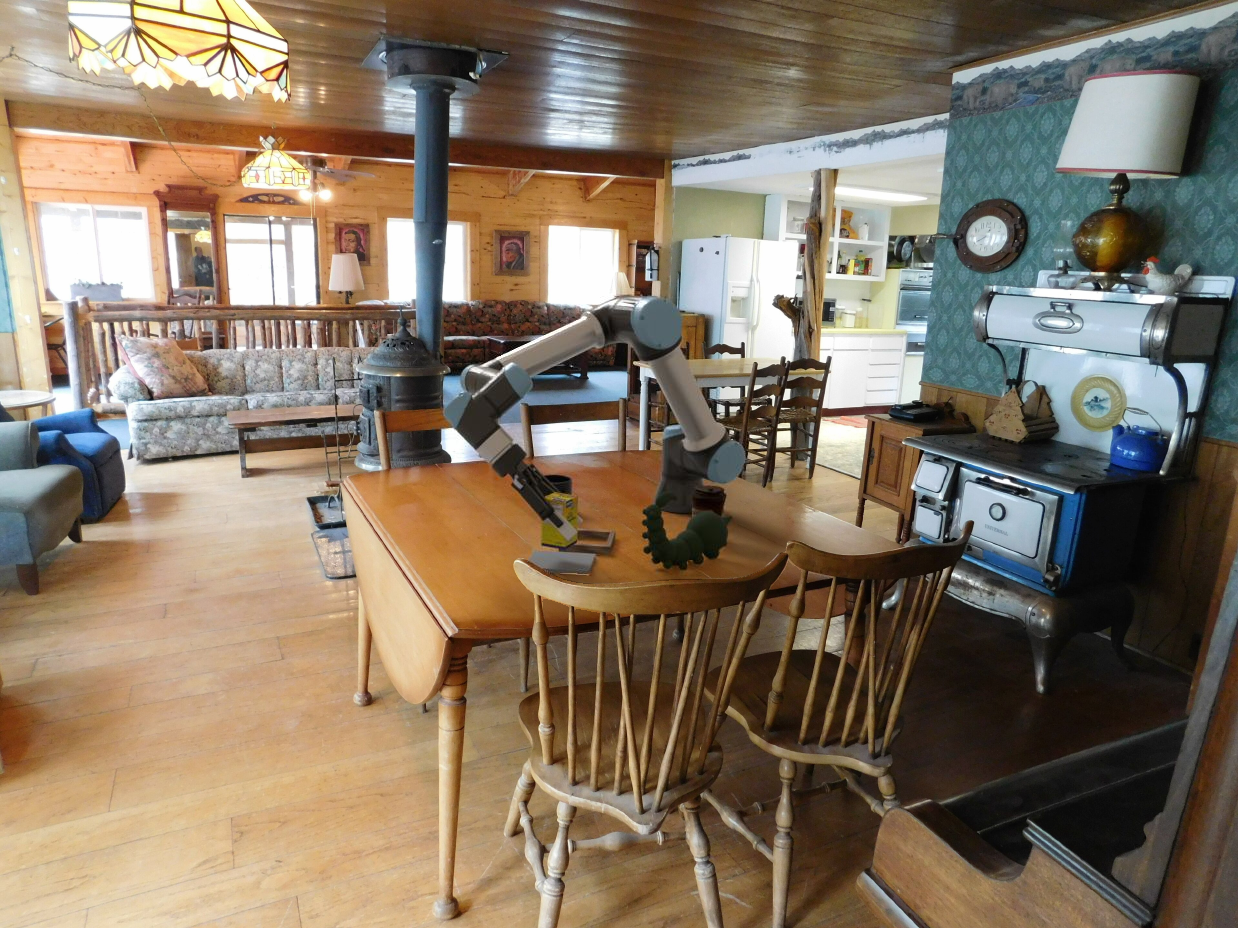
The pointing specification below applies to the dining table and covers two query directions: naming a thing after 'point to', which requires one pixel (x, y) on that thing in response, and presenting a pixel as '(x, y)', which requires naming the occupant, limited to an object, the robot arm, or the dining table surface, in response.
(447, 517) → the dining table surface
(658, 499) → the toy figurine
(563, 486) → the mug
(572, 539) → the supplement box
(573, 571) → the mat
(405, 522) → the dining table surface
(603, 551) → the frame
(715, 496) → the coffee cup
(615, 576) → the dining table surface
